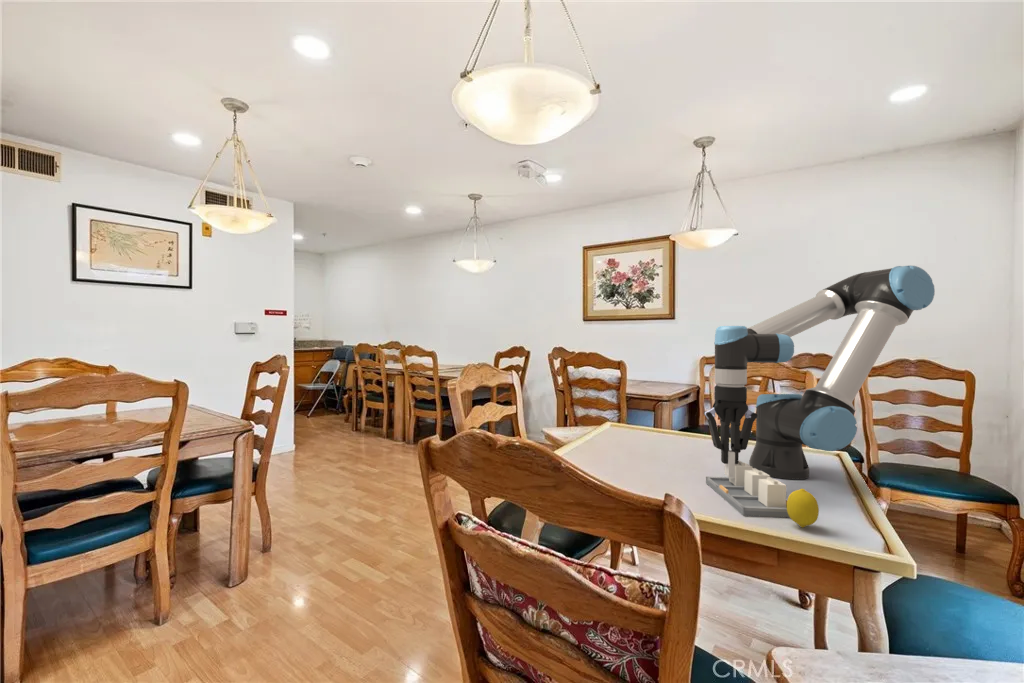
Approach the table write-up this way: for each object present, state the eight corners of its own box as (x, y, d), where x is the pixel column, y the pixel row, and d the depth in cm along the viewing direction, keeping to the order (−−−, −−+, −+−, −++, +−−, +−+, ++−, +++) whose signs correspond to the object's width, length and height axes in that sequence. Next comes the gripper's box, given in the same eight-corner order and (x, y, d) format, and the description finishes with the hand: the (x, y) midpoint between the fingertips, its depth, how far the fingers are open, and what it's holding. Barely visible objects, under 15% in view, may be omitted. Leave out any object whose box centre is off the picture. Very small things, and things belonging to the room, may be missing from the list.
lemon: (808, 535, 86) (809, 495, 86) (780, 524, 91) (781, 486, 91) (824, 530, 89) (824, 491, 89) (796, 520, 94) (796, 482, 94)
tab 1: (744, 481, 115) (745, 460, 115) (752, 486, 111) (752, 464, 111) (729, 481, 115) (729, 459, 115) (735, 486, 111) (736, 464, 111)
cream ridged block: (761, 490, 108) (761, 468, 108) (769, 496, 104) (769, 473, 104) (744, 490, 108) (744, 467, 108) (752, 495, 104) (752, 472, 104)
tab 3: (776, 501, 101) (776, 476, 101) (785, 507, 97) (786, 482, 97) (758, 500, 101) (758, 476, 101) (767, 507, 97) (767, 481, 97)
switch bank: (748, 484, 117) (748, 475, 117) (795, 517, 95) (795, 506, 95) (705, 483, 118) (706, 473, 118) (743, 515, 96) (743, 504, 96)
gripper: (749, 384, 117) (748, 472, 117) (699, 383, 118) (698, 471, 118) (763, 387, 109) (762, 481, 109) (710, 386, 110) (709, 480, 110)
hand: (729, 476), depth 114 cm, fingers closed
